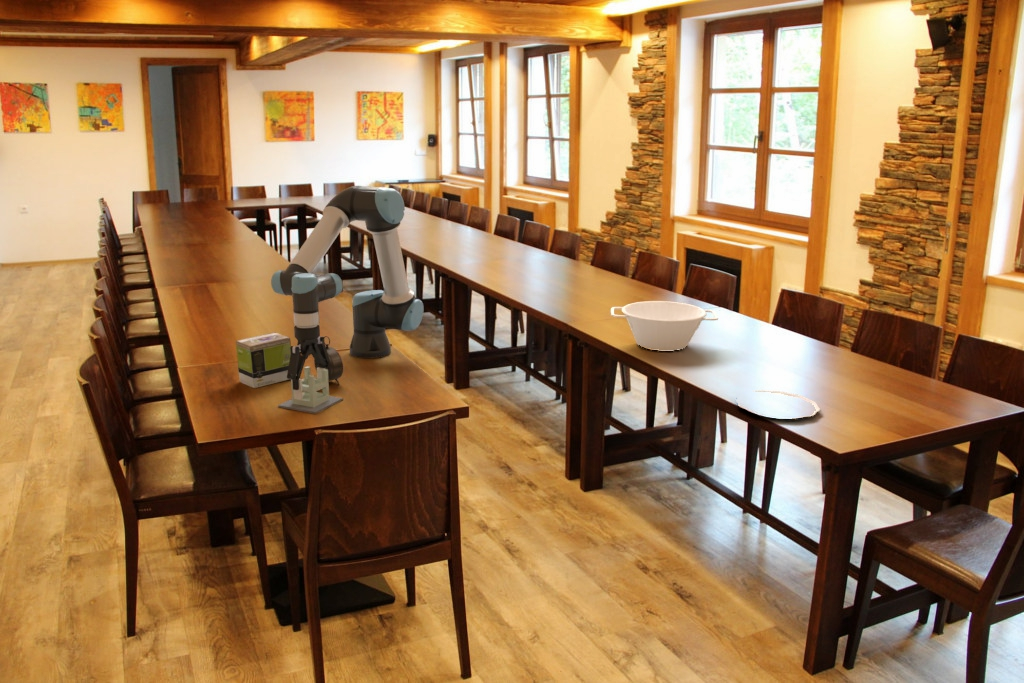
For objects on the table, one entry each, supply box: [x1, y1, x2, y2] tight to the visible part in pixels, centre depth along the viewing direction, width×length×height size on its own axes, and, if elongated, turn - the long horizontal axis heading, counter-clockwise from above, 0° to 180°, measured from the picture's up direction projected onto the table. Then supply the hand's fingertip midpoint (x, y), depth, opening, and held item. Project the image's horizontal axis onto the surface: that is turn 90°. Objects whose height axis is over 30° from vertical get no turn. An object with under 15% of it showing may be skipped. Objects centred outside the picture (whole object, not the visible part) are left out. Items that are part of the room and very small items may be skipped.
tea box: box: [235, 331, 292, 389], centre depth 296 cm, size 15×10×15 cm
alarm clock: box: [313, 335, 344, 386], centre depth 294 cm, size 11×5×16 cm, turn 47°
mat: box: [277, 395, 344, 415], centre depth 276 cm, size 14×14×1 cm
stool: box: [290, 366, 330, 407], centre depth 275 cm, size 8×8×10 cm
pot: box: [610, 300, 719, 350], centre depth 342 cm, size 40×32×14 cm
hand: (310, 393), depth 275 cm, fingers open, 11 cm apart
